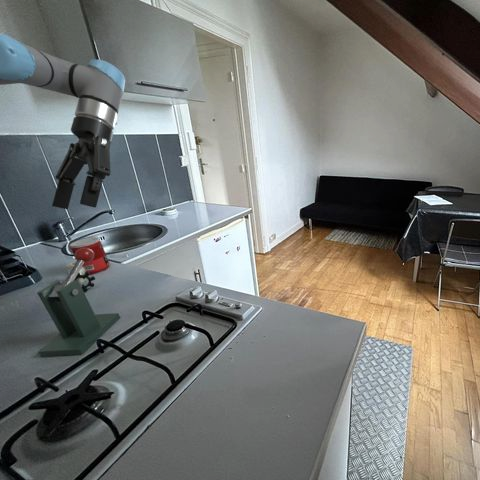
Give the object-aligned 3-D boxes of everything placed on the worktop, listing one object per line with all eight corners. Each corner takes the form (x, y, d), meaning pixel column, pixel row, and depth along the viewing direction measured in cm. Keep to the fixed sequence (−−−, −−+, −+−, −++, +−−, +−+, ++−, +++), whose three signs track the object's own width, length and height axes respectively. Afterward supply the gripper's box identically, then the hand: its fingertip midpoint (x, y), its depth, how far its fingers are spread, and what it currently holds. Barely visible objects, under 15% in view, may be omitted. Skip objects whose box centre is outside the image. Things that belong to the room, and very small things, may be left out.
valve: (67, 283, 86) (71, 296, 78) (58, 265, 83) (62, 277, 75) (92, 275, 90) (99, 287, 82) (85, 258, 87) (90, 268, 80)
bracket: (85, 319, 67) (62, 273, 62) (120, 317, 67) (99, 271, 62) (40, 357, 56) (7, 304, 51) (82, 354, 56) (53, 301, 51)
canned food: (114, 266, 95) (102, 239, 91) (87, 276, 89) (73, 247, 85) (105, 262, 99) (94, 235, 95) (79, 271, 93) (65, 243, 89)
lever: (86, 253, 66) (75, 245, 63) (100, 252, 66) (90, 244, 63) (57, 302, 58) (42, 295, 55) (73, 301, 58) (59, 294, 55)
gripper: (140, 124, 62) (120, 209, 59) (87, 139, 73) (68, 212, 70) (104, 103, 55) (79, 199, 52) (52, 123, 66) (28, 203, 63)
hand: (73, 206), depth 61 cm, fingers open, 13 cm apart
